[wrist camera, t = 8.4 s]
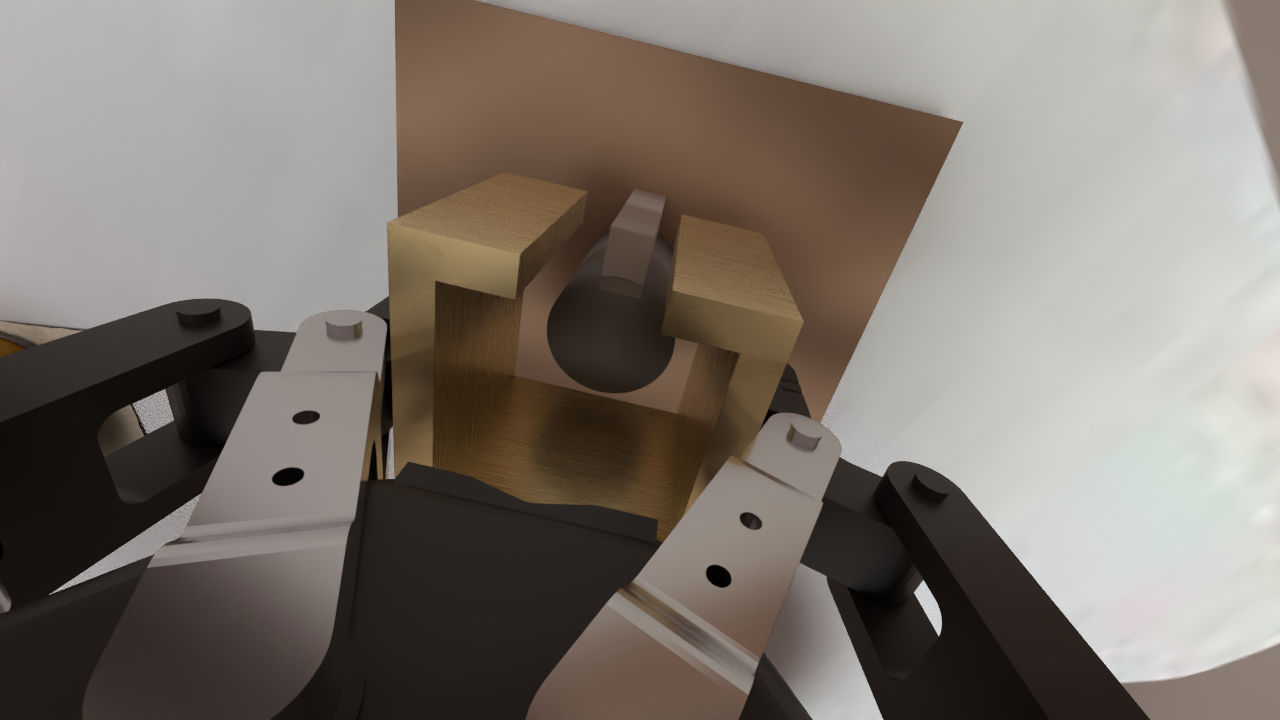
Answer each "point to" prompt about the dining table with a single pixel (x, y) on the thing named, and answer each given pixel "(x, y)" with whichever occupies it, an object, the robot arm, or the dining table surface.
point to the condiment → (19, 337)
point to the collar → (557, 416)
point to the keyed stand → (659, 183)
